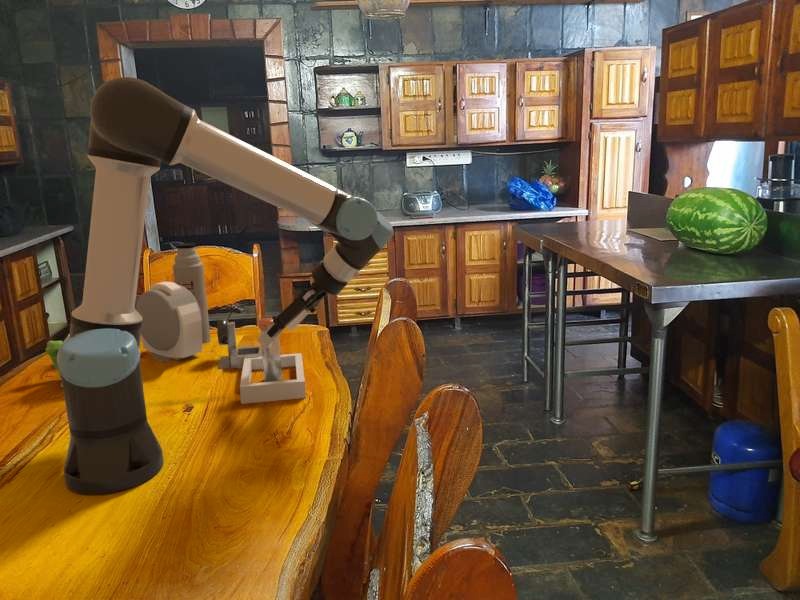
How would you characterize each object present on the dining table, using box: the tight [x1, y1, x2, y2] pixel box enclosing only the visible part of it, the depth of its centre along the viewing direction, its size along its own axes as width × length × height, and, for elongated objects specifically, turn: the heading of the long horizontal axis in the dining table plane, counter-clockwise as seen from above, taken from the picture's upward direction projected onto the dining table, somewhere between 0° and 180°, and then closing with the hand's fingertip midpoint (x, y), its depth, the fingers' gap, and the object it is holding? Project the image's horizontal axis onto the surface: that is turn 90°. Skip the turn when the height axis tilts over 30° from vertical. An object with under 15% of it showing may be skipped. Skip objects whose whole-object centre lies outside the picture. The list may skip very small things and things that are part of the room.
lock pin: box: [257, 316, 283, 382], centre depth 140 cm, size 5×5×15 cm
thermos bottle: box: [172, 242, 211, 345], centre depth 173 cm, size 8×8×28 cm
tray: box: [239, 352, 307, 405], centre depth 142 cm, size 20×14×4 cm
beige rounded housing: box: [135, 281, 203, 363], centre depth 159 cm, size 18×8×20 cm, turn 58°
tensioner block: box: [216, 318, 262, 370], centre depth 155 cm, size 13×14×11 cm
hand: (275, 334), depth 139 cm, fingers open, 13 cm apart
